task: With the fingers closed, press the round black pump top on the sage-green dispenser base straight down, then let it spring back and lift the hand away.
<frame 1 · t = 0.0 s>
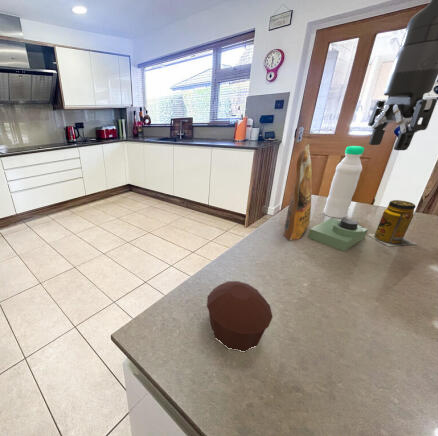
hand: (386, 147, 57), 29 cm above the countertop, tool pointing down, fingers open, 8 cm apart
pancake mix bag: (293, 231, 80), on the countertop
muffin: (234, 331, 46), on the countertop
condiment: (390, 240, 71), on the countertop
water bottle: (334, 215, 88), on the countertop
pump top: (348, 224, 70), point 6 cm above the countertop, slide at 0.1 cm
dispenser base: (335, 237, 74), on the countertop
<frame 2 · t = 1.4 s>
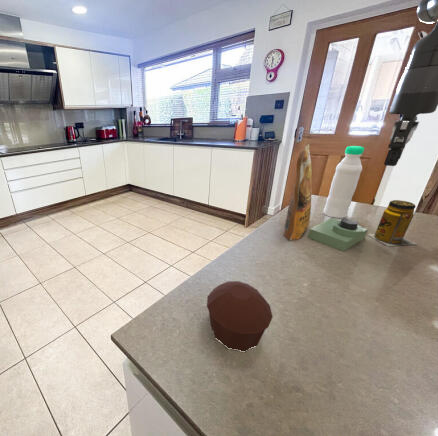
hand: (391, 162, 60), 24 cm above the countertop, tool pointing down, fingers open, 8 cm apart
nothing on the countertop moved.
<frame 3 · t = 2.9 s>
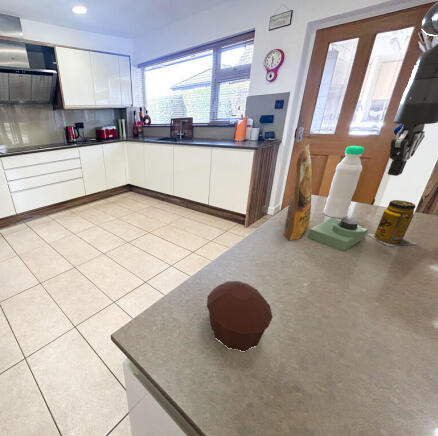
hand: (394, 174, 61), 21 cm above the countertop, tool pointing down, fingers closed
nothing on the countertop moved.
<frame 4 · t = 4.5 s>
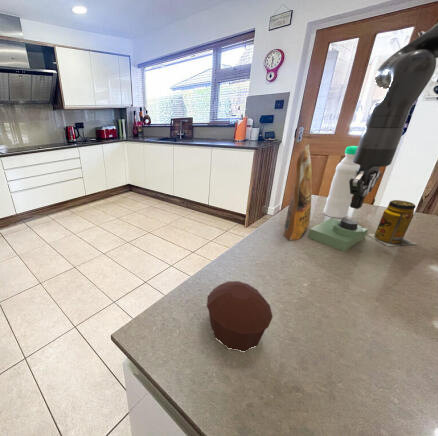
hand: (355, 207, 67), 11 cm above the countertop, tool pointing down, fingers closed
nothing on the countertop moved.
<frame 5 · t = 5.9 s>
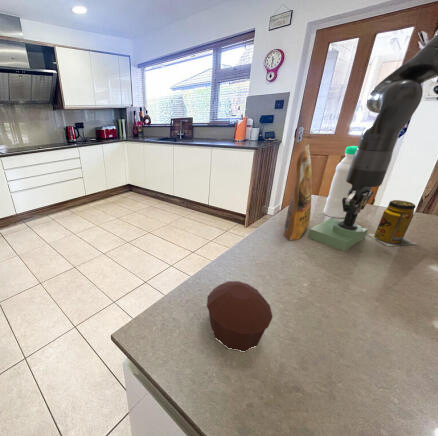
hand: (348, 224, 70), 6 cm above the countertop, tool pointing down, fingers closed
pump top: (347, 227, 70), point 5 cm above the countertop, slide at -0.8 cm, touching gripper
everything else where it was.
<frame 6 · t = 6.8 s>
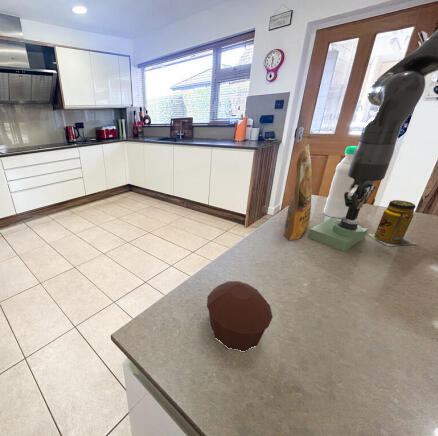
hand: (350, 218, 69), 7 cm above the countertop, tool pointing down, fingers closed
pump top: (348, 224, 70), point 6 cm above the countertop, slide at 0.1 cm
everything else where it was.
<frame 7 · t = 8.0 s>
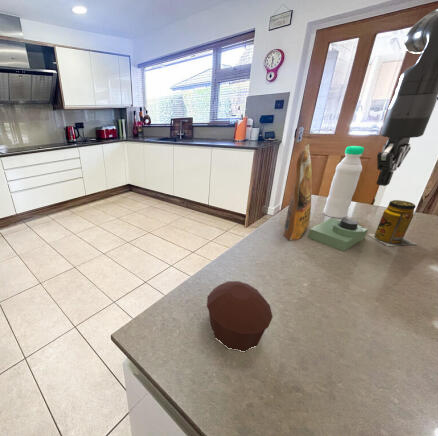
hand: (382, 184, 63), 18 cm above the countertop, tool pointing down, fingers closed
nothing on the countertop moved.
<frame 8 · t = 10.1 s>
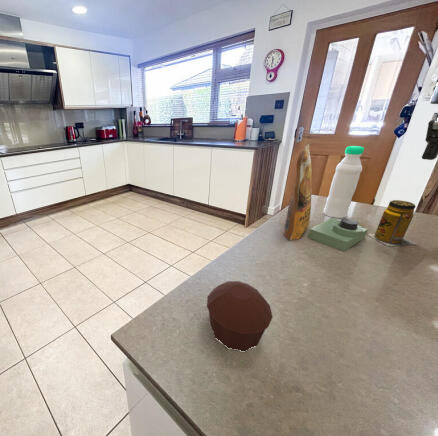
hand: (428, 159, 58), 25 cm above the countertop, tool pointing down, fingers closed
nothing on the countertop moved.
at the end: pump top pushed in 1.1 cm at the most during the clip, back to where it started at the end; pump top slide at 0.1 cm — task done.
